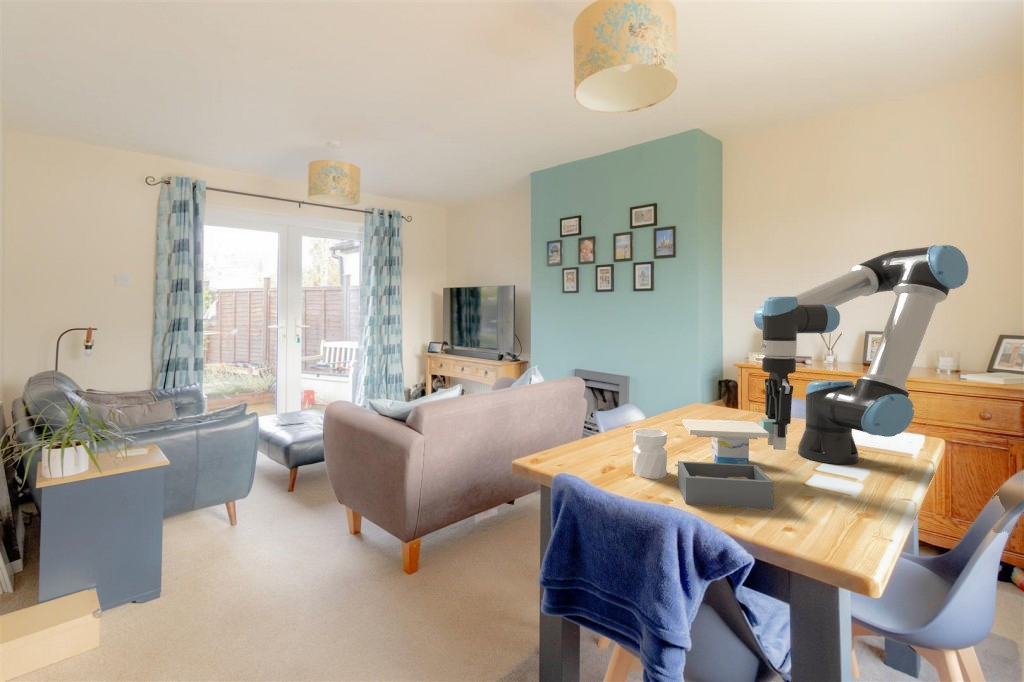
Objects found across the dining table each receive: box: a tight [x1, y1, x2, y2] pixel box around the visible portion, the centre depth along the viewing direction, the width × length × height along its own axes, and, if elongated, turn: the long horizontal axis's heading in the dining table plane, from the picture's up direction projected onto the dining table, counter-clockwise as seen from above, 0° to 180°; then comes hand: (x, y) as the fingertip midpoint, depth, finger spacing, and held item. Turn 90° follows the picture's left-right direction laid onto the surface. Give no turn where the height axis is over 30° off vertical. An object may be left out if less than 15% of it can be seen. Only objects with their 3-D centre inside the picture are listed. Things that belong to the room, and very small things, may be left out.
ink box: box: [710, 419, 750, 465], centre depth 140 cm, size 9×8×12 cm
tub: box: [677, 460, 775, 510], centre depth 111 cm, size 18×12×7 cm, turn 79°
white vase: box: [632, 428, 668, 480], centre depth 128 cm, size 9×9×12 cm
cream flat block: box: [681, 418, 788, 440], centre depth 126 cm, size 24×13×4 cm, turn 79°
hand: (776, 446), depth 125 cm, fingers closed on cream flat block, 3 cm apart
